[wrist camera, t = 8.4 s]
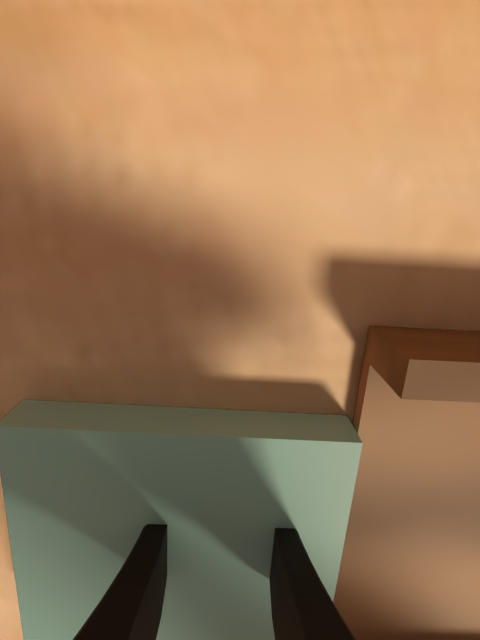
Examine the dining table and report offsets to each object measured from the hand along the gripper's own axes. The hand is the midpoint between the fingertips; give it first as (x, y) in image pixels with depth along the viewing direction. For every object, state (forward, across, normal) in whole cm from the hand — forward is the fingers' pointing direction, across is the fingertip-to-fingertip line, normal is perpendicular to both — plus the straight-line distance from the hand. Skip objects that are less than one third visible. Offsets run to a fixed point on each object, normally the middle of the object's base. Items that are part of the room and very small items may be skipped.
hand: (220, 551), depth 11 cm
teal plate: (+2, +1, 0) cm, 2 cm away
